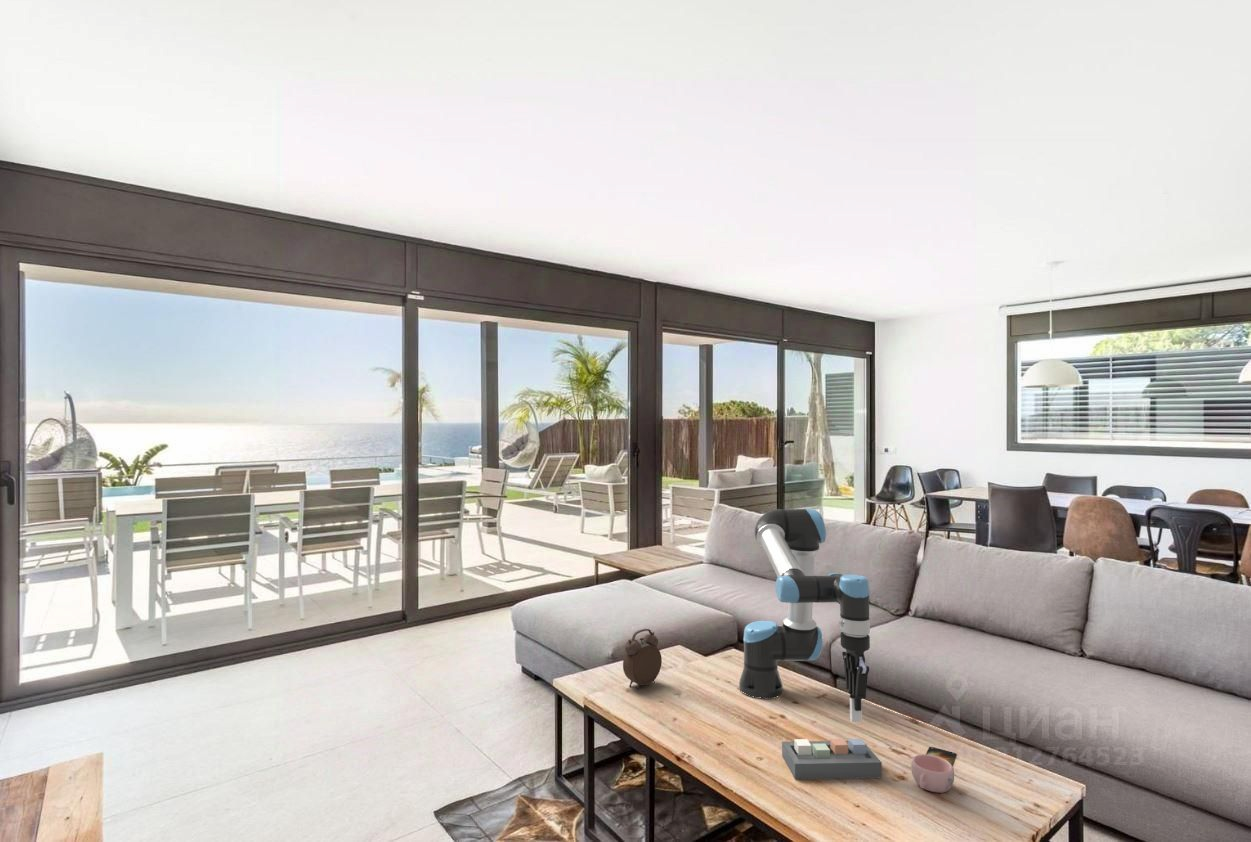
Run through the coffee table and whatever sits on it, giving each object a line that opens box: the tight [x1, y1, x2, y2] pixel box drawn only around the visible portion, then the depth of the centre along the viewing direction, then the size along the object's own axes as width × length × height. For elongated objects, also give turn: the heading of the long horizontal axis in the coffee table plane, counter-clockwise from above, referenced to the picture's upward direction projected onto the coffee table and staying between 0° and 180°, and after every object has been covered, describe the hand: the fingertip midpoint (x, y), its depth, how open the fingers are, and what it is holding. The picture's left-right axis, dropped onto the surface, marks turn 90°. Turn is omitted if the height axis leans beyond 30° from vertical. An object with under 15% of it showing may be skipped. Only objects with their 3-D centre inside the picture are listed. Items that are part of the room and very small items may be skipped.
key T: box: [829, 738, 848, 754], centre depth 171 cm, size 4×4×2 cm
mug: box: [910, 753, 955, 793], centre depth 160 cm, size 12×10×6 cm
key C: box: [812, 743, 830, 759], centre depth 170 cm, size 4×4×2 cm
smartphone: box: [925, 746, 957, 767], centre depth 173 cm, size 7×1×15 cm
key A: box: [847, 737, 868, 754], centre depth 171 cm, size 4×4×2 cm
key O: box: [793, 738, 812, 755], centre depth 170 cm, size 4×4×2 cm
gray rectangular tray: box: [781, 740, 883, 780], centre depth 170 cm, size 12×23×4 cm, turn 92°
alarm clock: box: [622, 628, 662, 690], centre depth 227 cm, size 15×7×20 cm, turn 130°
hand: (856, 720), depth 171 cm, fingers closed
